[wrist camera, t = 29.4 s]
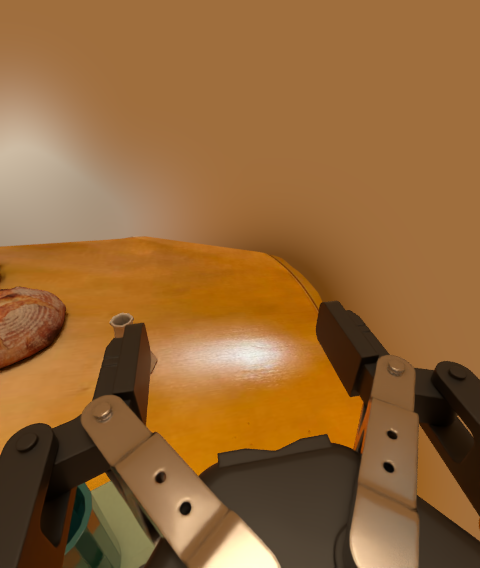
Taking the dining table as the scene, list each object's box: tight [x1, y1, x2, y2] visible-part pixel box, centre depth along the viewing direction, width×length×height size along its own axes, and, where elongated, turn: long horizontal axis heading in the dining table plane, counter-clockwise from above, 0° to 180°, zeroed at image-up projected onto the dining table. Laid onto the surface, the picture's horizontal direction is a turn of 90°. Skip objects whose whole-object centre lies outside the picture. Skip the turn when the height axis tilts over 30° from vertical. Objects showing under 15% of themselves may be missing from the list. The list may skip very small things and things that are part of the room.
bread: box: [0, 287, 66, 368], centre depth 55 cm, size 16×20×10 cm
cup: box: [62, 483, 121, 568], centre depth 26 cm, size 6×6×11 cm
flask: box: [110, 313, 157, 373], centre depth 48 cm, size 7×7×10 cm
